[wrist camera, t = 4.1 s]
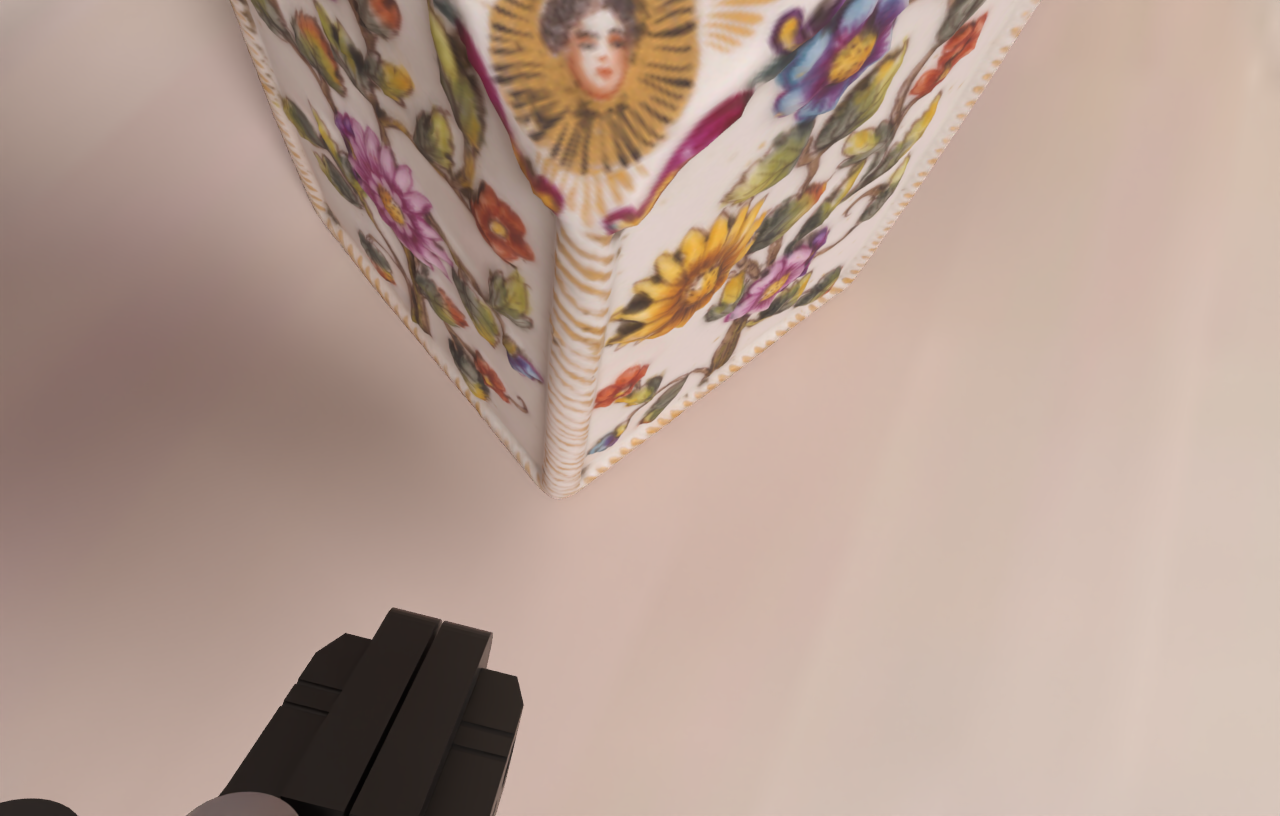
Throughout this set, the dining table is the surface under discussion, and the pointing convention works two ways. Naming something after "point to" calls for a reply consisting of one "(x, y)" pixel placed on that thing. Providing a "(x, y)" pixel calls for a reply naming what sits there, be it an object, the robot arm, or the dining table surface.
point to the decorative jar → (613, 181)
